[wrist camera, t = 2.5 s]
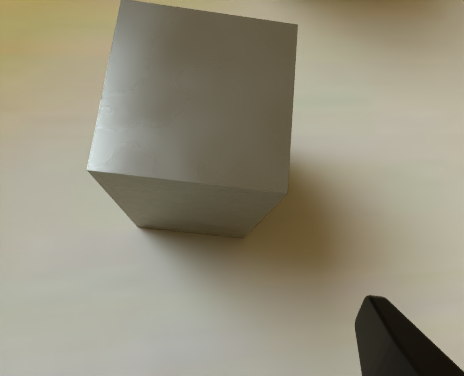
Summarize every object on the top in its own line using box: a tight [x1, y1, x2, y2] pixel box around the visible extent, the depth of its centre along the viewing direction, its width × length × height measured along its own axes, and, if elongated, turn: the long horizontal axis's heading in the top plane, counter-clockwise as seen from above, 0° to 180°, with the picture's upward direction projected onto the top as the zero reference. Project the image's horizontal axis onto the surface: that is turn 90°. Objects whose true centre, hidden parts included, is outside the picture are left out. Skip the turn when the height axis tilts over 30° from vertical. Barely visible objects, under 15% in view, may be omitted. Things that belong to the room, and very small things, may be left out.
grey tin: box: [87, 0, 298, 238], centre depth 17 cm, size 6×6×10 cm
